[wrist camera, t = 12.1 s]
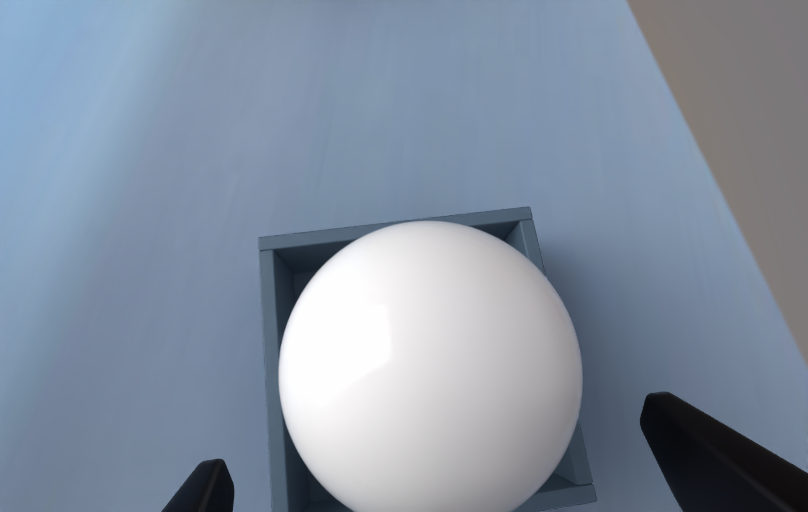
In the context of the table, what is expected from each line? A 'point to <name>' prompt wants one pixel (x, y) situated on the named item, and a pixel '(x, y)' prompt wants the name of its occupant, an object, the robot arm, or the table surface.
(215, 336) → the table surface
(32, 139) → the table surface
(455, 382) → the lightbulb
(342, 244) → the case
